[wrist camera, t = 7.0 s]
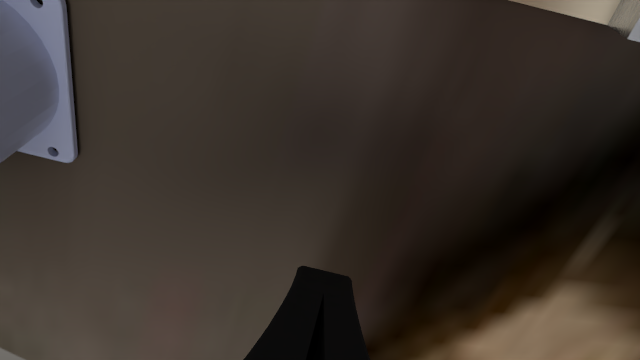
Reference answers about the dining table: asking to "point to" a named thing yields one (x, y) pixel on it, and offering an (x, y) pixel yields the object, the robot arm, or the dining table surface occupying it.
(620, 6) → the grey h-shaped piece
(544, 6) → the pair of beige bars
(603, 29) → the dining table surface
